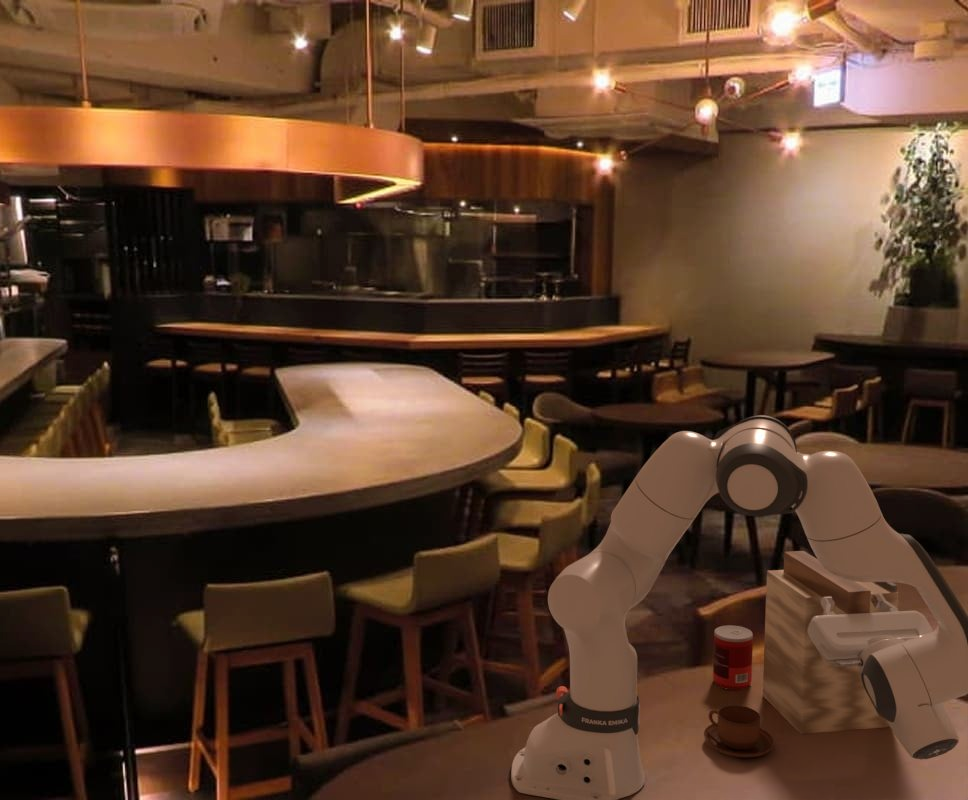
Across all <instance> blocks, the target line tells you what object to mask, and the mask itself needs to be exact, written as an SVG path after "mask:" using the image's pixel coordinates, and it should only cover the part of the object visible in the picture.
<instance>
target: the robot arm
mask: <svg viewBox="0 0 968 800" xmlns="http://www.w3.org/2000/svg"><path fill="white" fill-rule="evenodd" d="M713 438H714V439H710V438H708V437H706V436H705V435H702V434H700V433H698V432H694V431H691V430H681V431H678V432H675V433H673V434H671V436H669V437H668V438H667V439H666V440H665V441H664V442H662V444H661V445H660V446H659V447H658V448H657V449H656V450H655V451H654V453H653V454H652V455H651V456H650V457H649V458H648V460H647V461H646V462H645V463H644V464H643V466H642V467H641V468H640V470H639V471H638V473H637V474H636V476H635V477H634V479H633V480H632V482H631V483H630V485H629V486H628V488H627V489H626V491H625V492H624V494H623V495H622V496H621V498H620V500H619V501H618V503H617V504H616V506H615V507H614V508H613V510H612V512H611V515H610V524H609V526H608V528H607V531H606V533H605V535H604V536H603V538H602V540H601V542H600V543H599V544H598V545H597V546H596V547H595V548H594V549H593V550H592V551H591V552H590V553H588V554H587V555H585V556H583V557H581V558H579V559H577V560H576V561H574V562H572V563H571V564H569V565H567V566H566V567H565V568H564V569H563V570H561V572H560V573H559V574H558V575H557V576H556V578H555V579H554V580H553V582H552V584H550V587H549V589H548V592H547V593H548V595H547V604H548V609H549V611H550V614H551V616H552V618H553V619H554V621H555V622H556V623H557V625H559V626H560V627H561V628H562V629H563V631H564V633H565V637H566V641H567V645H568V651H569V681H570V682H569V689H570V690H569V689H568V688H567V687H566V686H564V685H563V686H562V685H560V686H558V687H557V688H556V692H555V693H556V695H555V697H556V699H557V712H556V713H555V714H553V715H552V716H550V717H548V718H547V719H545V720H543V721H542V722H540V723H537V725H535V726H534V728H533V729H532V730H531V732H530V733H529V736H528V738H527V741H526V744H525V747H523V748H521V749H520V750H519V751H518V752H517V753H516V755H515V756H514V758H513V760H512V764H511V773H510V780H511V783H512V786H513V788H514V789H515V790H516V791H517V792H518V793H520V794H524V795H531V796H536V797H541V798H542V797H543V798H547V799H548V798H549V799H554V800H619V799H623V798H626V797H628V796H632V795H634V794H635V793H637V792H639V791H640V790H641V789H642V788H643V786H644V785H645V783H646V775H645V771H644V767H643V763H642V759H641V752H640V746H639V738H638V737H639V736H638V733H639V728H640V725H641V724H640V721H641V720H640V719H641V704H640V701H639V696H638V694H637V693H638V691H637V690H638V689H637V688H638V654H637V652H636V649H635V648H634V646H633V645H632V644H631V643H630V642H629V639H628V634H627V629H626V618H627V613H628V612H629V610H631V609H632V608H634V607H635V606H636V605H638V604H639V603H641V602H642V601H643V600H644V599H645V598H646V596H647V595H648V593H649V592H650V591H651V589H652V587H653V585H654V584H655V583H656V580H657V578H658V577H659V575H660V573H661V571H662V569H663V567H664V566H665V564H666V562H667V560H668V557H669V555H670V554H671V553H672V551H673V550H674V548H675V547H676V545H677V544H678V543H679V542H680V540H681V538H682V537H684V536H683V535H684V534H685V533H686V531H687V530H688V529H689V527H690V526H691V524H692V523H693V522H694V520H695V519H696V518H697V516H698V515H699V513H700V512H701V510H702V509H703V507H704V506H705V504H706V503H708V501H709V500H710V499H711V498H712V497H713V496H715V495H716V494H718V493H719V495H720V497H721V499H722V500H723V501H724V503H725V504H726V505H727V506H728V507H729V508H730V509H732V510H733V511H734V512H736V513H738V514H741V515H744V516H749V517H762V516H763V517H764V516H770V515H788V514H792V513H794V512H795V513H796V514H797V516H798V519H799V521H800V523H801V526H802V529H803V531H804V534H805V536H806V538H807V541H808V543H809V546H810V548H811V550H812V551H813V554H814V555H815V558H816V559H818V560H819V562H820V564H821V565H822V566H823V567H824V568H825V569H826V570H828V571H829V572H831V573H832V574H834V575H836V576H838V577H841V578H844V579H847V580H851V581H857V582H892V583H899V584H906V585H910V586H913V587H914V588H915V589H916V590H917V592H918V593H919V595H920V596H921V598H922V600H924V601H923V602H924V603H925V604H926V606H927V607H928V609H929V610H930V612H931V613H932V615H933V617H934V618H935V620H936V622H937V623H938V625H937V627H936V628H935V629H934V630H933V628H932V626H931V625H930V622H929V621H928V620H927V617H926V616H925V615H924V614H923V613H921V612H919V611H917V610H903V611H901V610H899V608H898V609H897V607H895V606H894V605H892V604H891V603H889V602H888V601H886V600H885V598H884V597H883V595H882V594H874V595H873V597H872V598H871V602H872V603H873V605H874V607H875V608H880V609H881V610H882V611H884V612H879V613H860V614H840V615H835V613H834V612H833V611H831V612H830V610H832V609H833V606H834V605H835V602H834V600H832V597H822V599H821V605H822V607H823V609H824V611H823V615H821V616H814V617H813V618H812V620H811V622H810V624H809V626H808V630H807V632H808V635H809V637H810V638H811V640H812V642H813V643H814V645H815V646H816V648H817V649H818V651H819V652H820V654H821V656H822V658H823V660H824V661H825V662H828V663H830V664H832V665H834V666H835V667H843V666H858V668H859V670H860V671H861V673H862V674H861V678H862V683H863V686H864V688H865V690H866V692H867V694H868V696H869V698H870V700H871V702H872V703H873V705H874V707H875V709H876V711H877V713H878V715H880V716H881V717H883V718H884V719H886V721H887V722H888V724H889V726H890V727H889V728H890V729H891V731H892V732H893V734H894V736H895V737H896V740H898V742H899V743H900V744H901V746H902V747H903V748H904V750H905V751H906V753H907V754H908V755H909V756H910V757H911V758H913V759H915V760H916V759H917V760H928V759H932V758H936V757H939V756H941V755H944V754H947V753H948V752H950V751H952V750H953V749H955V748H956V746H957V745H958V743H959V742H960V741H959V739H960V738H959V735H958V733H957V730H956V727H955V725H954V722H953V721H952V718H951V716H950V714H949V712H948V710H947V708H946V705H945V704H944V703H946V702H949V701H951V700H955V699H958V698H960V697H961V698H962V697H967V696H968V613H967V612H966V611H965V609H964V607H963V606H962V604H961V602H960V601H959V599H958V597H957V596H956V595H955V593H954V591H953V589H952V588H951V587H950V585H949V583H948V582H947V581H946V578H945V577H944V576H943V574H942V573H941V571H940V570H939V568H938V566H937V565H936V563H935V562H934V561H933V559H932V558H931V556H930V555H929V553H928V552H927V551H926V549H925V548H924V547H923V546H922V545H921V543H919V541H917V539H915V537H913V536H912V535H910V534H907V533H905V534H904V533H899V532H897V531H896V530H895V529H894V528H893V527H891V526H890V524H889V523H888V522H887V521H886V519H885V518H884V515H883V513H882V511H881V509H880V506H879V503H878V501H877V499H876V497H875V495H874V492H873V491H872V488H871V486H870V485H869V483H868V482H867V480H866V478H865V476H864V475H863V473H862V471H861V470H860V468H859V467H858V465H857V464H856V462H855V461H854V460H853V458H851V457H850V456H849V455H847V454H846V453H844V452H841V451H836V450H823V451H818V452H815V453H811V454H808V453H801V452H799V451H798V450H797V449H798V448H797V443H796V442H797V441H796V439H795V437H794V435H793V432H791V430H790V429H789V428H788V426H787V425H786V424H785V423H783V422H782V421H781V420H780V419H777V418H775V417H772V416H770V415H765V414H764V415H762V414H760V415H753V416H750V417H749V416H748V417H746V418H744V419H742V420H740V421H738V422H736V423H734V424H732V425H729V426H727V427H724V428H723V429H720V430H719V431H717V432H716V433H715V434H714V437H713ZM790 508H791V509H790ZM568 690H569V691H568Z"/></svg>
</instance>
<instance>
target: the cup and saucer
mask: <svg viewBox="0 0 968 800" xmlns="http://www.w3.org/2000/svg"><path fill="white" fill-rule="evenodd" d="M714 714H716V715H717V722H716V721H715V719H714V718H713V715H714ZM708 719H709V721H710V723H711V724H710V725H708V726H707V727H705V729H704V732H703V736H704V739H705V741H706V743H707V744H708V745H709V746H710V747H711V748H712V749H714V750H715V751H717V752H718V753H719V752H720V753H721V754H724V755H727V756H731V757H734V758H735V757H736V758H742V759H743V758H744V759H745V758H746V759H748V758H757V757H761V756H763V755H765V754H767V753H768V752H770V751H771V749H773V745H774V738H773V737H772V735H771V734H770V733H769V732H768V731H767V730H765V729H763V728H762V727H761V714H760V713H759V712H758V711H756V710H755V709H753V708H751V707H748V706H744V705H737V704H735V705H734V704H732V705H725V706H722V707H720V708H719V709H718V710H717V709H711V710H710V711H709V712H708Z"/></svg>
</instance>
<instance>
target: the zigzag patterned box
mask: <svg viewBox="0 0 968 800" xmlns="http://www.w3.org/2000/svg"><path fill="white" fill-rule="evenodd" d="M855 582H857V581H855ZM857 583H859V584H860V585H862V586H864V587H865V588H867V589H869V590H870V591H871V596H870V613H879V612H884V611H882V610H881V609H880V608H875V607H874V605H873V603H872V602H871V598H872V597H873V595H874V594H882V595H883V597H884V598H885V600H886V601H888V602H889V603H891V604H892V605H894V606H895V607H897V609H898V610H899V592H898V585H897V584H895V582H857ZM765 585H766V589H765V590H766V591H765V593H766V594H765V616H764V617H765V619H764V649H763V679H762V696H763V697H764V699H766V700H767V702H769V704H771V706H773V708H774V709H775V710H776V711H777V712H778V713H779V714H780V715H781V716H782V717H783V718H784V719H785V720H787V722H788V723H789V724H790V725H791V726H792V727H794V729H795V730H797V732H798V733H799V734H800V735H802V734H803V735H805V734H817V733H830V732H840V731H842V732H843V731H852V730H854V731H855V730H869V729H878V728H880V729H881V728H890V726H889V724H888V722H887V721H886V719H884V718H883V717H881V716H880V715H878V713H877V711H876V709H875V707H874V705H873V703H872V702H871V700H870V698H869V696H868V694H867V692H866V690H865V688H864V686H863V683H862V678H861V674H862V673H861V671H860V670H859V668H858V666H843V667H835V666H834V665H832V664H830V663H828V662H825V661H824V660H823V658H822V656H821V654H820V652H819V651H818V649H817V648H816V646H815V645H814V643H813V642H812V640H811V638H810V637H809V635H808V632H807V630H808V626H809V624H810V622H811V620H812V618H813V617H814V616H821V615H823V611H824V609H823V607H822V605H821V599H822V597H821V596H820V595H818V594H817V593H815V592H814V591H812V590H811V589H809V588H808V587H806V586H805V585H803V584H802V583H800V582H799V581H797V580H796V579H794V578H793V577H791V576H790V575H788V574H787V573H785V572H784V569H777V570H776V569H773V570H766V583H765ZM831 611H833V612H834V613H835V615H840V614H846V613H845V612H843V611H842V610H840V609H839V608H837V607H836V606H833V609H832V610H830V612H831Z"/></svg>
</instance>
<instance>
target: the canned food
mask: <svg viewBox="0 0 968 800" xmlns="http://www.w3.org/2000/svg"><path fill="white" fill-rule="evenodd" d="M753 639H754V635H753V632H752V630H751V629H749V628H747V627H744V626H741V625H730V624H729V625H728V624H727V625H721V626H717V627H716V628H715V629H714V633H713V661H712V662H713V663H712V671H713V672H712V677H713V679H712V680H713V682H714V684H715V685H717V686H718V687H719V686H720V688H722V687H723V688H722V689H725V688H727V689H726V690H729V689H733V690H732V691H738V690H739V691H740V689H742V690H745V689H747V688H749V687H750V686H751V683H752V673H753V649H754V648H753V647H754V646H753V645H754V641H753ZM749 685H750V686H749ZM748 686H749V687H748ZM744 688H745V689H744Z"/></svg>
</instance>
